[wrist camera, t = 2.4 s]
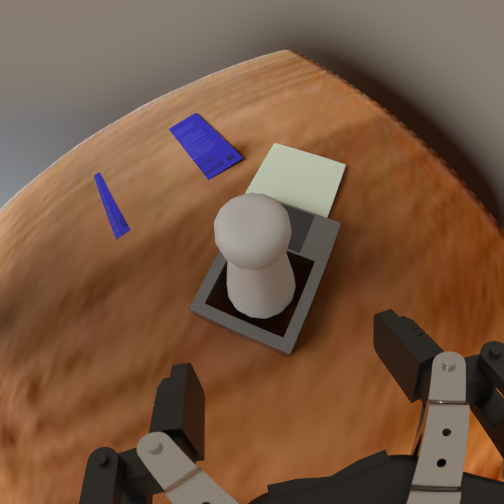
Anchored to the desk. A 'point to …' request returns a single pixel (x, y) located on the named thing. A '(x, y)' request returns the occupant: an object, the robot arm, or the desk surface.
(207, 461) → the desk surface
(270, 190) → the pad
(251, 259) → the salt shaker
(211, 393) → the desk surface
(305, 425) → the desk surface
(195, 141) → the blue cards
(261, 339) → the grey rectangular frame
